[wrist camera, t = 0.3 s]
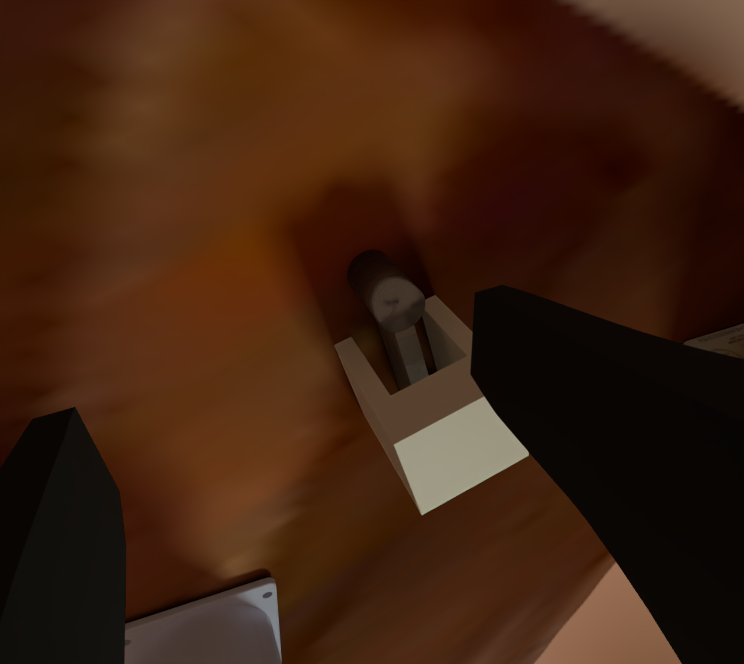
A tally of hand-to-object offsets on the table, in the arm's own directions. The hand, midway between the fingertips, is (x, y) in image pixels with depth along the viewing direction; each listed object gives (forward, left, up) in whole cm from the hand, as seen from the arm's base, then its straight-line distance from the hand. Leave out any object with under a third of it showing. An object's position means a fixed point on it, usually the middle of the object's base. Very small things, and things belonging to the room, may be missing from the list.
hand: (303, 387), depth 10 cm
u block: (-8, -7, -10) cm, 14 cm away
